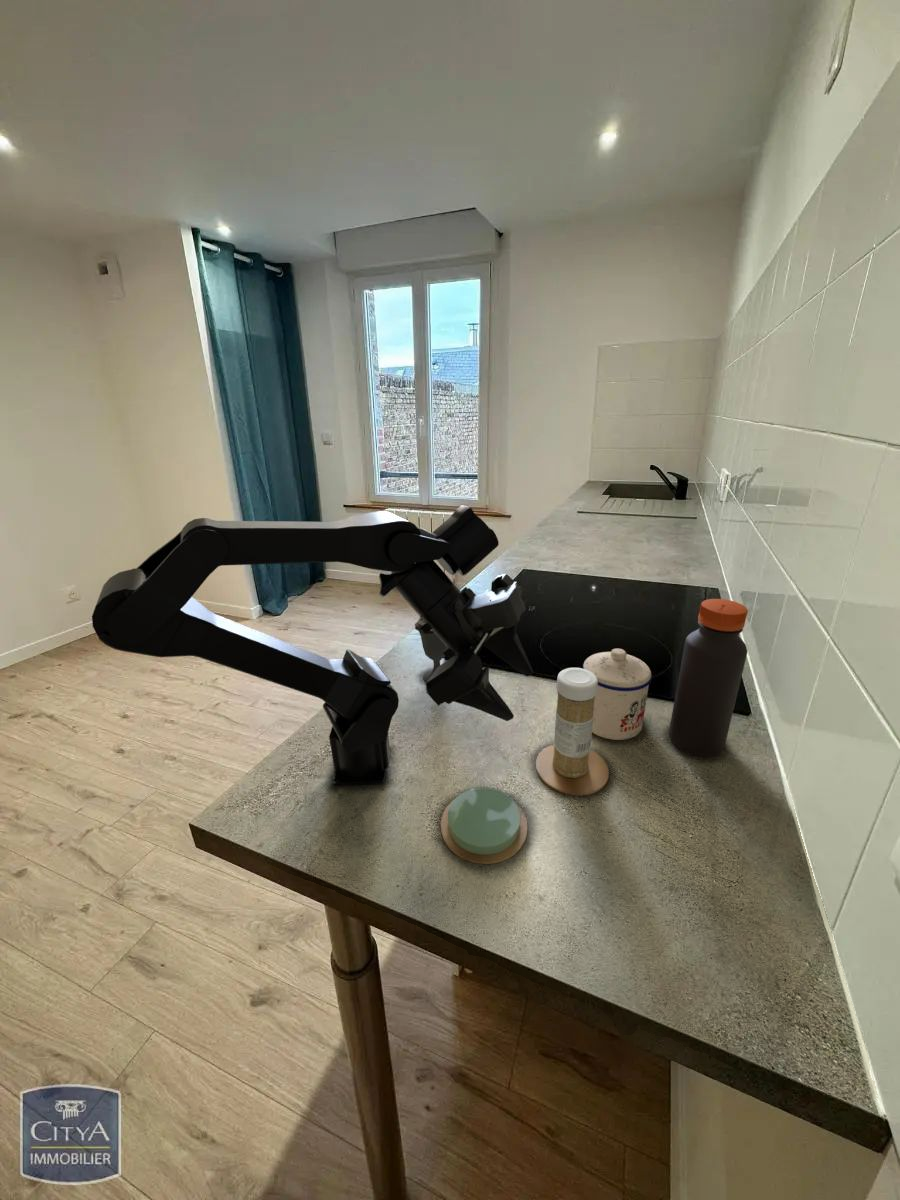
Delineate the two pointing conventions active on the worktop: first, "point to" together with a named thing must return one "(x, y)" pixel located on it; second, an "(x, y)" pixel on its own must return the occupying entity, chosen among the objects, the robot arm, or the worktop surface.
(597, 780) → the coaster
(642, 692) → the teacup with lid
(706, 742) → the vinegar
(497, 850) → the green flat disc
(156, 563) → the robot arm
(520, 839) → the saucer coaster
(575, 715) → the sprinkles bottle
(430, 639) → the sundae
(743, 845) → the worktop surface
